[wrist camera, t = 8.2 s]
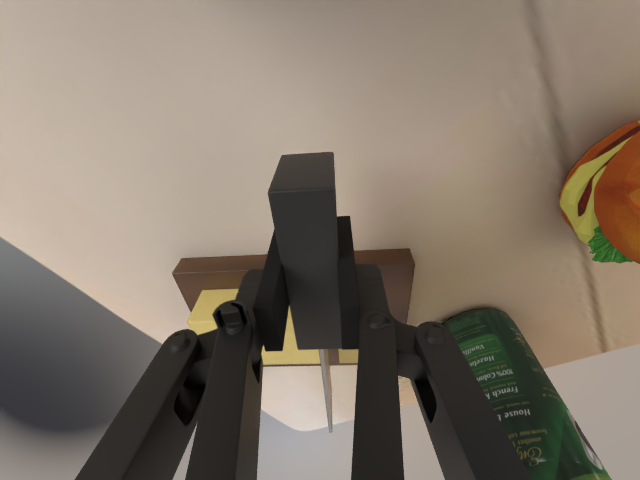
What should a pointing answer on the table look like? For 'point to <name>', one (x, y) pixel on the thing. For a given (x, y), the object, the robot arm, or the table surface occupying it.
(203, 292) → the butter block
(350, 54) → the table surface
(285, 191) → the knife
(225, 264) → the board
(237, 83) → the table surface
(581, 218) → the cheeseburger
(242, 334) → the robot arm
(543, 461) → the coffee jar
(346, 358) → the butter pat
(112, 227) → the table surface
